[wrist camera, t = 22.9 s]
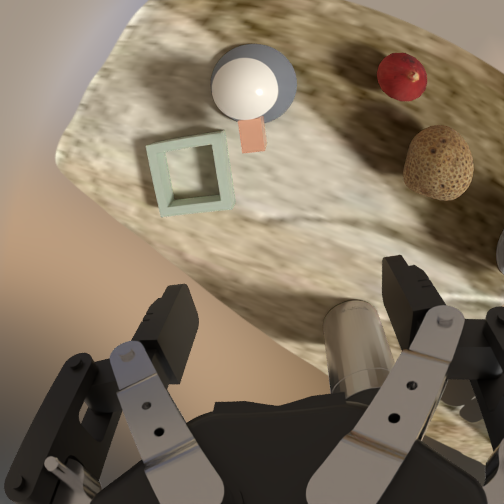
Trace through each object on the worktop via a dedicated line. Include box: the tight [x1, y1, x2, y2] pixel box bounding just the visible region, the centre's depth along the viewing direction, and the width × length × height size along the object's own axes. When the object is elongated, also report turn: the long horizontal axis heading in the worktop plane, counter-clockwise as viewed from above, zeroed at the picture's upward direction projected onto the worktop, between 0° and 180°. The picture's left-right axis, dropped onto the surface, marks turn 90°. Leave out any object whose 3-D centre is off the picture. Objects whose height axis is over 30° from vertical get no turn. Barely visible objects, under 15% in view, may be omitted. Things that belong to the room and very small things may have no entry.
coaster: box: [211, 44, 297, 123], centre depth 34 cm, size 10×10×1 cm
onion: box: [377, 53, 427, 101], centre depth 29 cm, size 6×6×8 cm
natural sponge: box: [403, 125, 474, 201], centre depth 32 cm, size 9×9×10 cm
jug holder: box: [146, 130, 236, 217], centre depth 39 cm, size 9×9×3 cm
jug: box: [212, 58, 279, 153], centre depth 30 cm, size 9×6×10 cm, turn 7°
